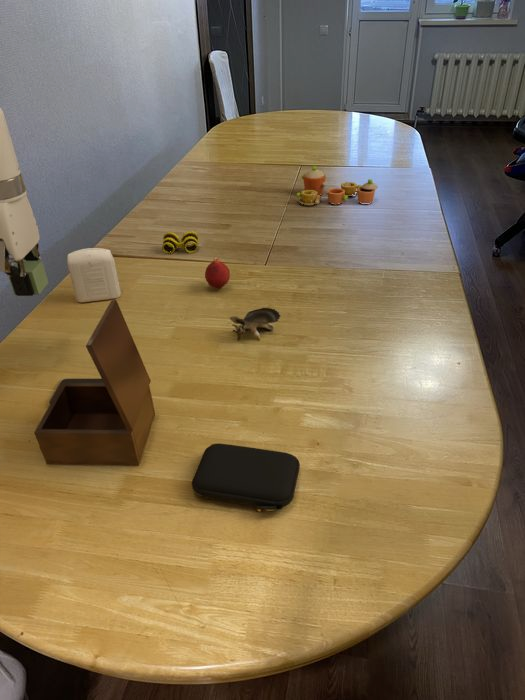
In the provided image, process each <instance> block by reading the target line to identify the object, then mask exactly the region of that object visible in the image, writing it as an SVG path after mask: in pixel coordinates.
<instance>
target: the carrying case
mask: <svg viewBox="0 0 525 700" xmlns="http://www.w3.org/2000/svg"><path fill="white" fill-rule="evenodd" d="M198 463H199V464H198V466H197V468H196V470H195V473H194V475H193V477H192V480H191V488H192V490H193V492H194V493H195V494H196V495H198V496H200V497H201V499H210V500H217V501H221V502H222V501H223V502H228V503H235V504H240V505H241V504H242V505H246V506H253V507H254V511H255V512H257V513H265V512H276V511H277V510H282V509H283V508H285V507H287V506H289V505H290V504H291V503H292V502H293V500H294V496H295V493H296V486H297V483H298V479H299V478H298V477H299V474H300V473H299V472H300V468H301V464H300V461H299V459H298V458H297V457H296V456H295V455H293V454H292V453H289V452H285V451H278V450H270V449H264V448H258V447H250V446H243V445H236V444H227V443H219V442H218V443H212V444H210V445H209V446H207V447H206V448H205V449H204V451H203V454H202V456H201V458H200V461H199V462H198Z"/></svg>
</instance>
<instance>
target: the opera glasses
mask: <svg viewBox="0 0 525 700" xmlns="http://www.w3.org/2000/svg"><path fill="white" fill-rule="evenodd" d="M198 244H199V234H198V233H197V232H195V231H192V230H191V231H186V232H184V233H183V234H182V236H181V238H179V236H178V235H177V234H176V233H174V232H171V231H169V232H165V233H164V234H163V237H162V246H161V250H162V251H163V253H165V254H167V253H169V254H168V255H172V254H174V252H175V251H176V250H177V249H178V248H179V249H180V248H184V250H185V252H186V253H188V254H193V253H196V252H197V251H198V248H199V247H198ZM170 251H171V252H170ZM170 253H171V254H170Z"/></svg>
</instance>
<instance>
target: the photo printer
mask: <svg viewBox="0 0 525 700" xmlns="http://www.w3.org/2000/svg"><path fill="white" fill-rule="evenodd" d="M66 258H67V260H66V264H67V268H68V271H69V272H68V273H69V276H70V280H71V283H72V284H71V285H72V287H73V292H74V295H75V299H76V302H78V303H89V302H98V301H106V300H107V301H108V300H116V299H118V298H120V297H121V296H122V292H121V287H120V283H119V278H118V273H117V267H116V262H115V258H114V256H113V254H112V252H111V250H110V249H108V248H103V247H87V248H82V249H78V250H74V251H72V252H70V253H68V254H67V257H66Z"/></svg>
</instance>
